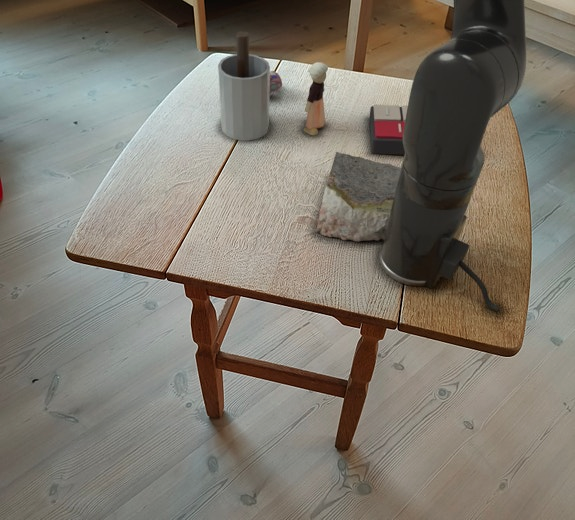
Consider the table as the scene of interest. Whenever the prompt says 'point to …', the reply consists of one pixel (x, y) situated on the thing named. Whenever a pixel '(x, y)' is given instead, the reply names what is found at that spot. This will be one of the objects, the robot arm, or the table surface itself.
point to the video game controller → (275, 81)
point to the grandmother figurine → (316, 99)
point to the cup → (244, 98)
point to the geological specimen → (357, 198)
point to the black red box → (387, 129)
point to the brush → (242, 54)
